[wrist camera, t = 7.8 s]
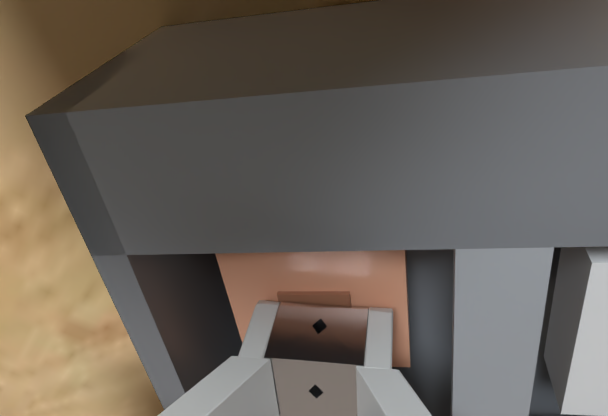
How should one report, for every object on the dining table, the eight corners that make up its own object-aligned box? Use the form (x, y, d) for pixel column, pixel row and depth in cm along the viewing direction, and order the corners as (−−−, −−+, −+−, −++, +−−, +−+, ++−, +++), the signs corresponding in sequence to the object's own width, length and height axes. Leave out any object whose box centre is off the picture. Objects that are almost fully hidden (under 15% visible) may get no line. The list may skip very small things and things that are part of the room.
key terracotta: (261, 318, 14) (247, 365, 13) (228, 196, 12) (207, 237, 10) (409, 320, 13) (410, 370, 12) (403, 188, 11) (403, 232, 10)
